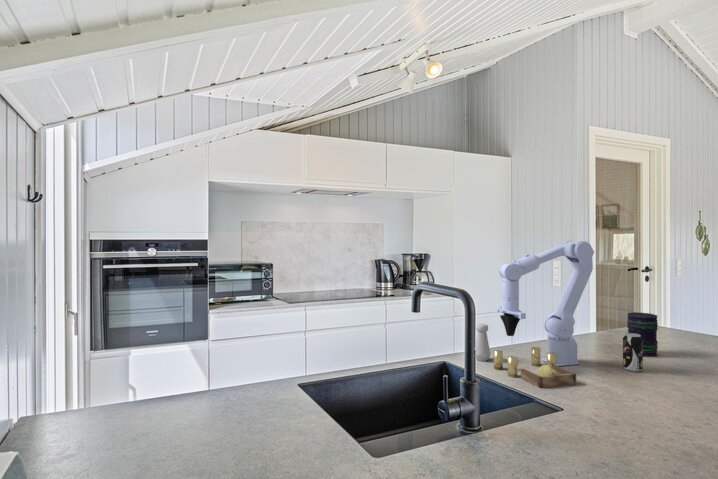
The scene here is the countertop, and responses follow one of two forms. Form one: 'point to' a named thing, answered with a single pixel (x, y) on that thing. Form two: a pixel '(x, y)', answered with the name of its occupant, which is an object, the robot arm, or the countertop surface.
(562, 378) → the corral
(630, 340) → the beverage can
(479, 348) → the salt shaker
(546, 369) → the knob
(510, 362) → the spacer field
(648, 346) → the storage jar
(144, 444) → the countertop surface
